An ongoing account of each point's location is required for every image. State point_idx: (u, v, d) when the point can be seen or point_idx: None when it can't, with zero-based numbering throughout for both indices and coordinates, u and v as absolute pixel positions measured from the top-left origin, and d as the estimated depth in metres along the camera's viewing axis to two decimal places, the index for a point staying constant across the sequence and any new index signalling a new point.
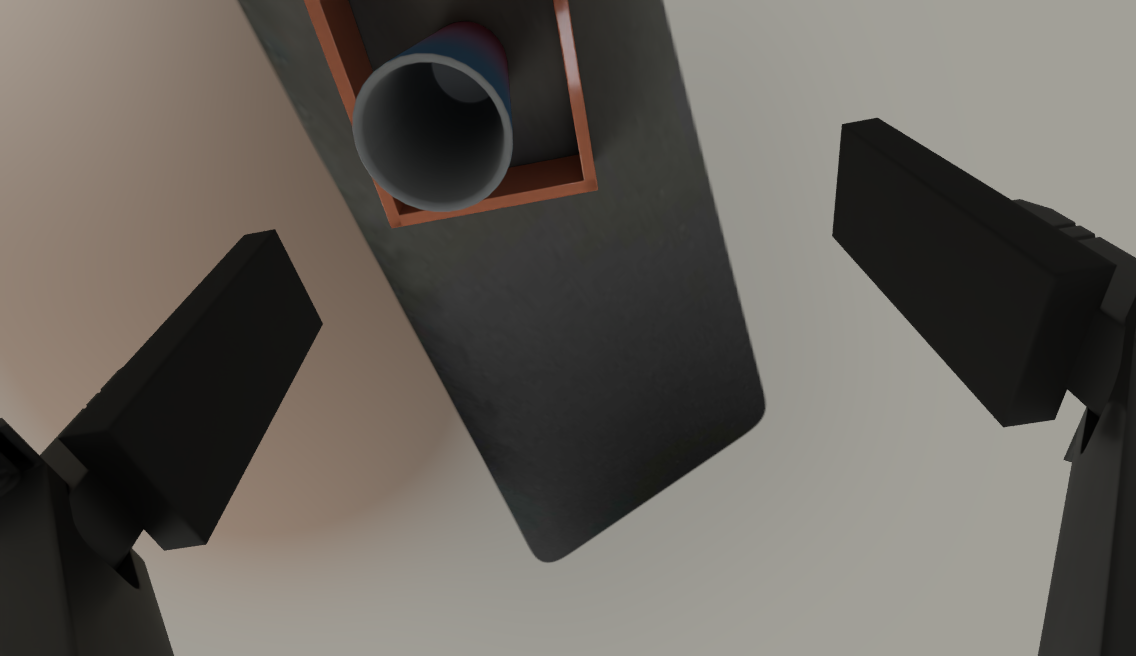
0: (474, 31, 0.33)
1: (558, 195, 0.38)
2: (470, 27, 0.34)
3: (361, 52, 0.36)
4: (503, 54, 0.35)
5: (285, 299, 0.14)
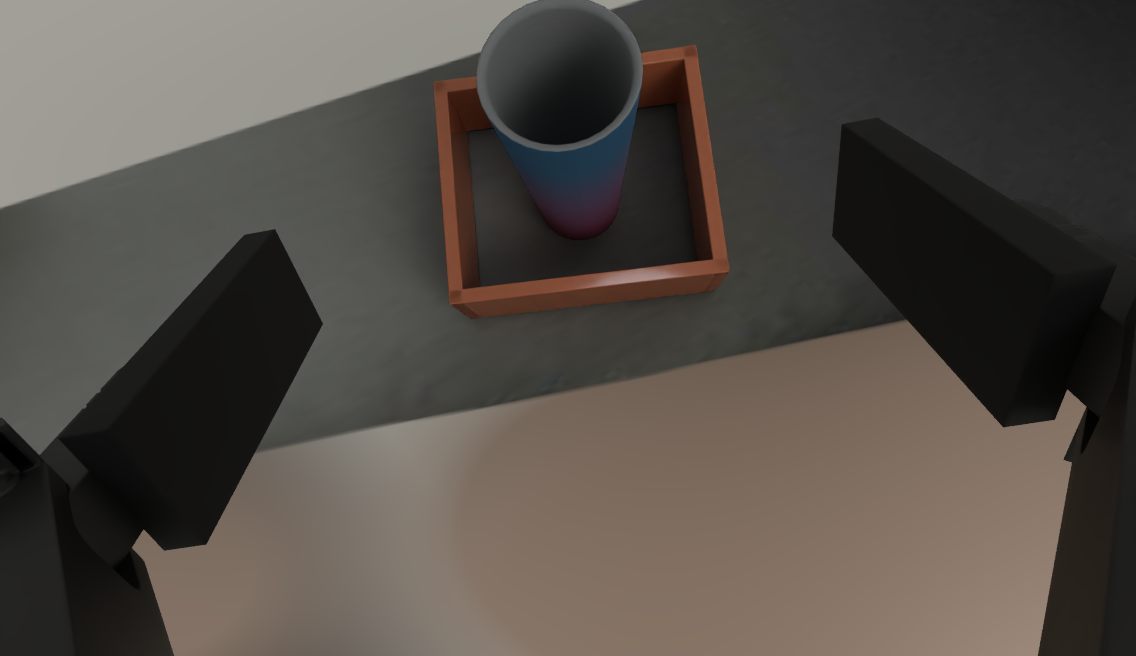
0: None
1: (699, 84, 0.34)
2: None
3: None
4: None
5: (285, 299, 0.14)
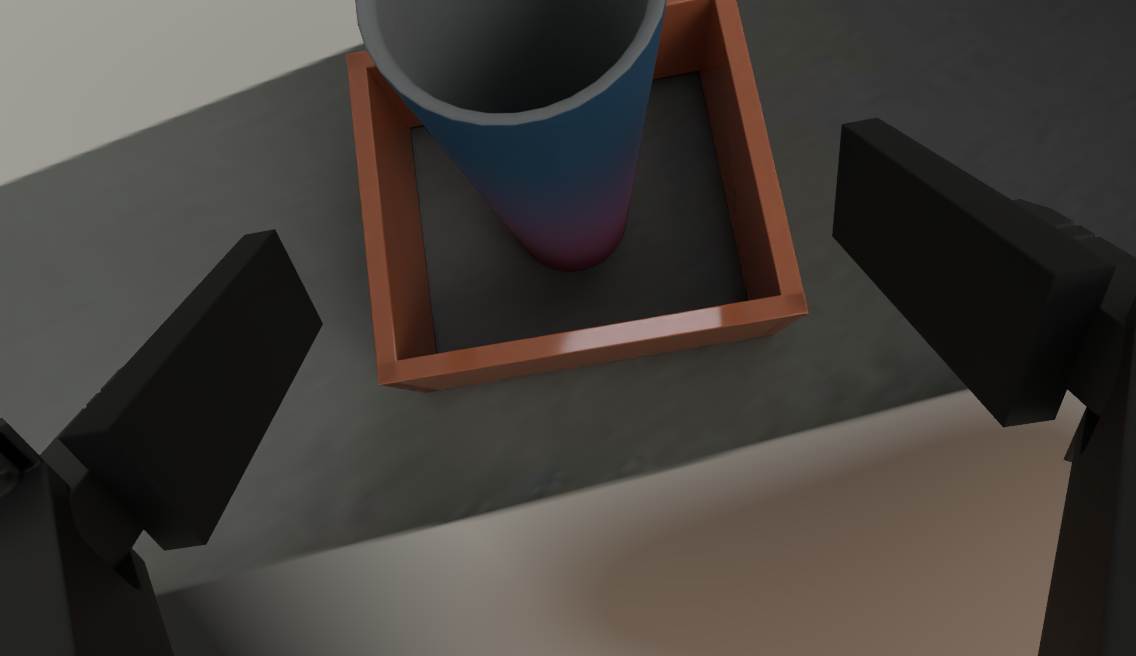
0: None
1: (740, 32, 0.23)
2: None
3: None
4: None
5: (285, 299, 0.14)
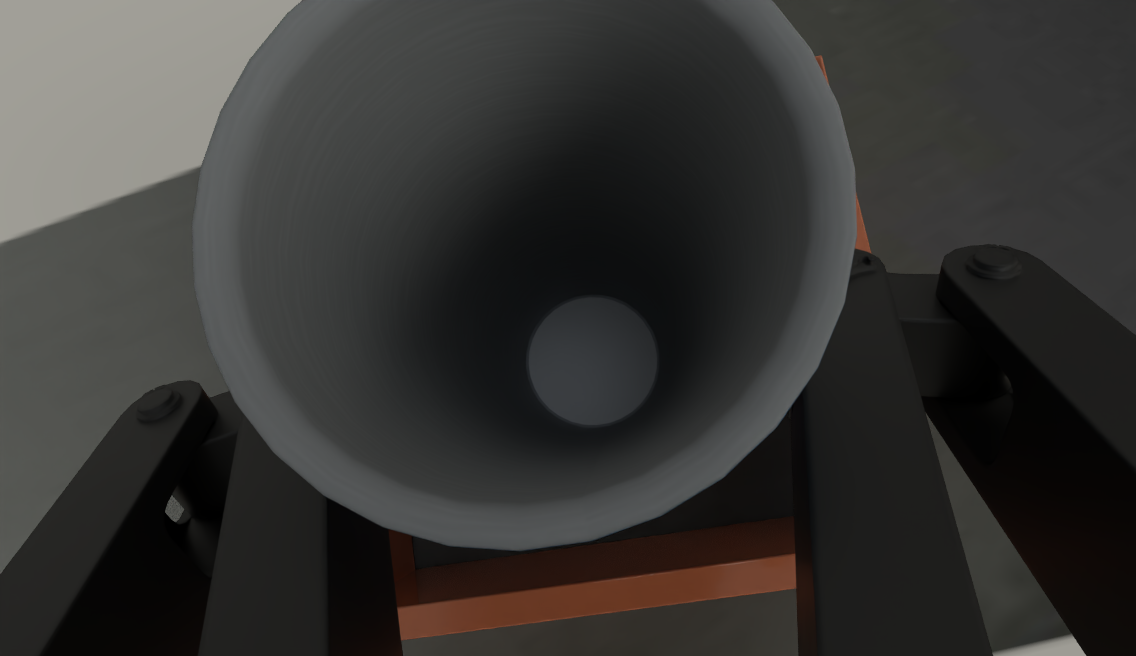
0: None
1: None
2: None
3: (557, 554, 0.19)
4: None
5: None
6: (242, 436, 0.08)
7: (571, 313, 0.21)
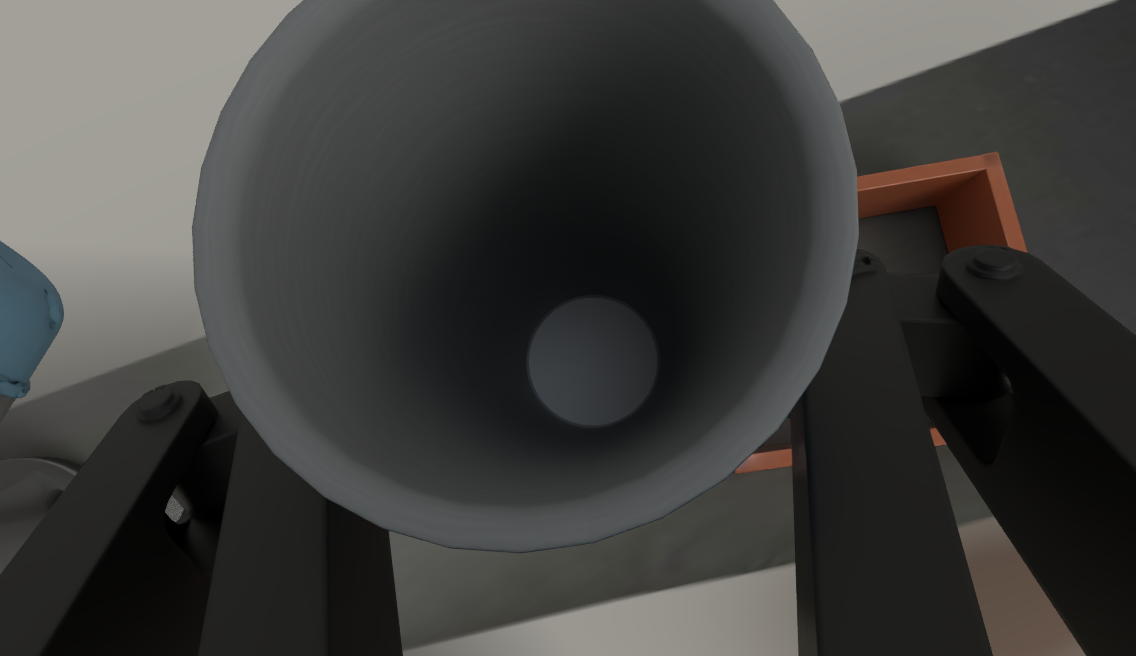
0: None
1: (1009, 199, 0.29)
2: None
3: None
4: None
5: None
6: (242, 436, 0.08)
7: (571, 313, 0.21)
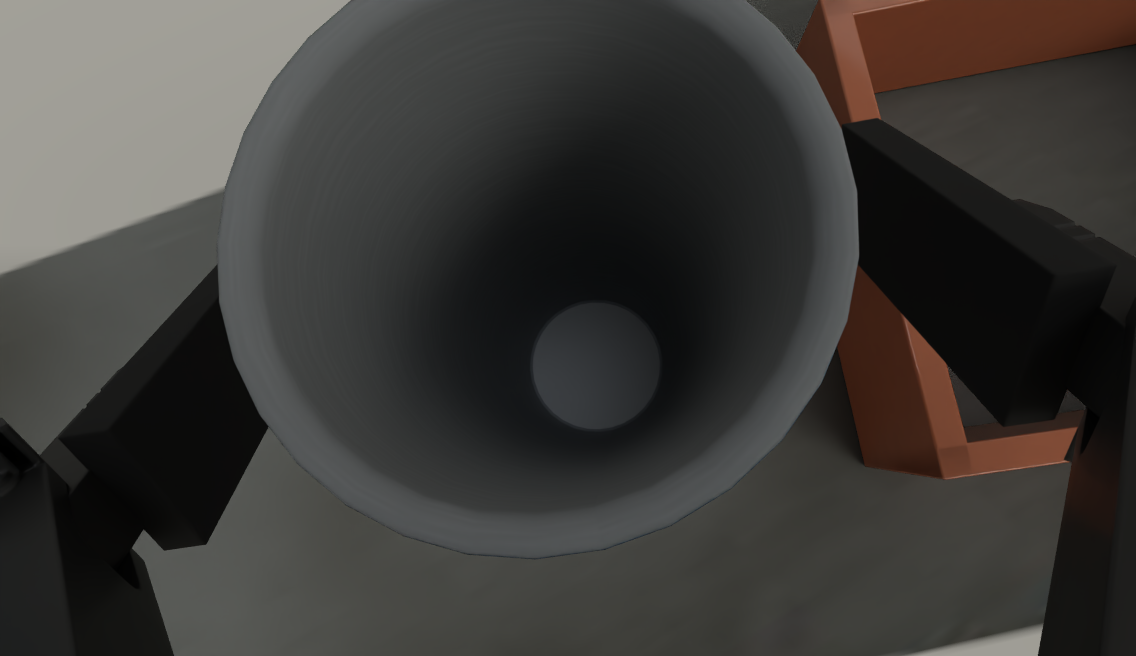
0: None
1: None
2: None
3: (1061, 415, 0.18)
4: None
5: None
6: None
7: (575, 318, 0.21)
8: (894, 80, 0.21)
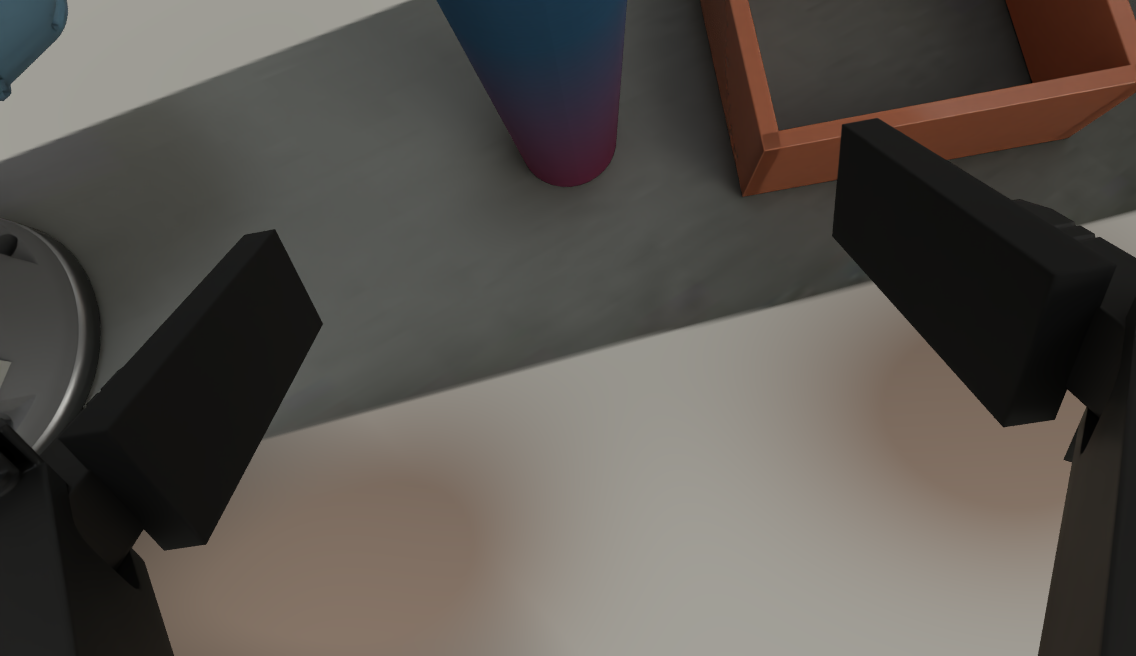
0: None
1: None
2: None
3: None
4: None
5: (285, 299, 0.14)
6: None
7: None
8: None
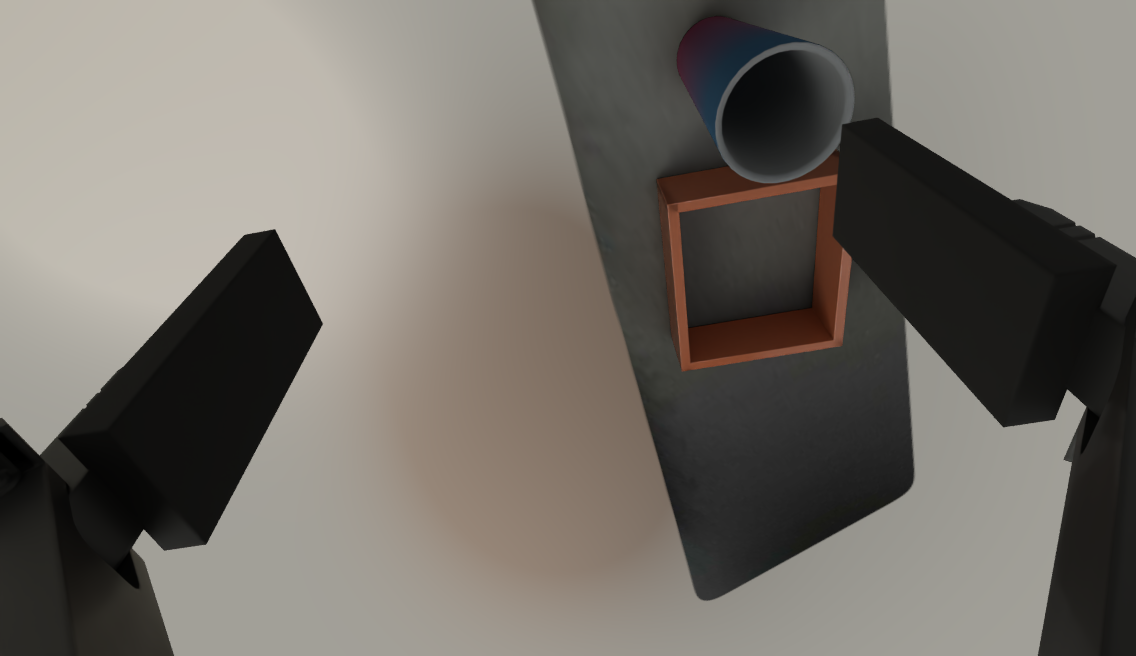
0: None
1: (812, 349, 0.50)
2: (740, 21, 0.38)
3: None
4: None
5: (285, 299, 0.14)
6: None
7: None
8: (823, 197, 0.47)
